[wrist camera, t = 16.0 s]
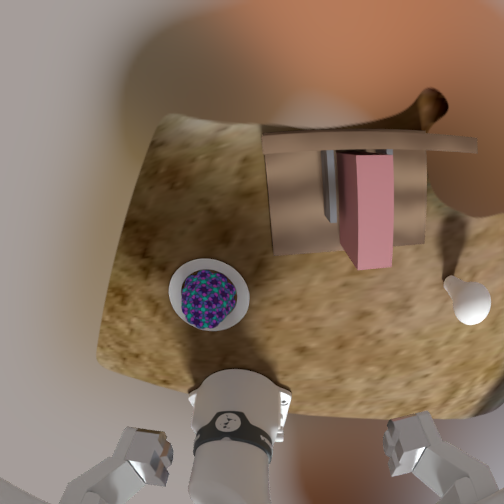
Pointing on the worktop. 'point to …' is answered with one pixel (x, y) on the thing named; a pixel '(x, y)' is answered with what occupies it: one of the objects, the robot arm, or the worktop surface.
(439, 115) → the worktop surface
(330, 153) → the shelf stand
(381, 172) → the book
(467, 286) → the lightbulb
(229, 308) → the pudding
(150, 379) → the worktop surface
